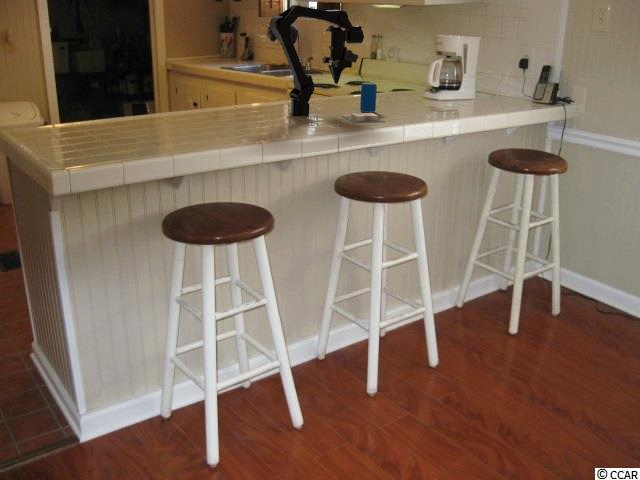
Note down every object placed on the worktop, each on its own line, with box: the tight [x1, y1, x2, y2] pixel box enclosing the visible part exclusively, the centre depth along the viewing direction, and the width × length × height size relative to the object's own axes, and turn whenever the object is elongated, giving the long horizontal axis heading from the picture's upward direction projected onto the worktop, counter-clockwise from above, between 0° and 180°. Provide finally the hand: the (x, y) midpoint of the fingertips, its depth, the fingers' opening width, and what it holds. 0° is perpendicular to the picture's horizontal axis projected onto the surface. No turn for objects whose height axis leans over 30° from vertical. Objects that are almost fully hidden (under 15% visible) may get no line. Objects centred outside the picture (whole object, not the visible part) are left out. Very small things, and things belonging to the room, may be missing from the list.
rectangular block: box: [350, 112, 379, 121], centre depth 248 cm, size 9×2×6 cm
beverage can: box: [359, 81, 378, 113], centre depth 265 cm, size 6×6×12 cm
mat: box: [341, 115, 386, 124], centre depth 249 cm, size 13×14×1 cm
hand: (336, 83), depth 257 cm, fingers closed
